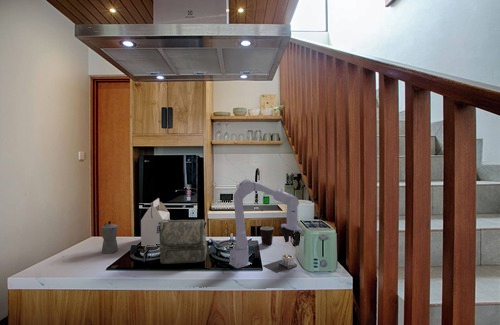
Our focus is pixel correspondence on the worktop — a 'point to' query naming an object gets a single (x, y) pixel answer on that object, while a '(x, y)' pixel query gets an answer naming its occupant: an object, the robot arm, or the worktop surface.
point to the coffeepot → (109, 238)
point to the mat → (275, 266)
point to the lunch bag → (182, 241)
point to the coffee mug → (266, 235)
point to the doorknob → (287, 266)
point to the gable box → (153, 223)
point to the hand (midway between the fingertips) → (291, 243)
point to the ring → (287, 260)
